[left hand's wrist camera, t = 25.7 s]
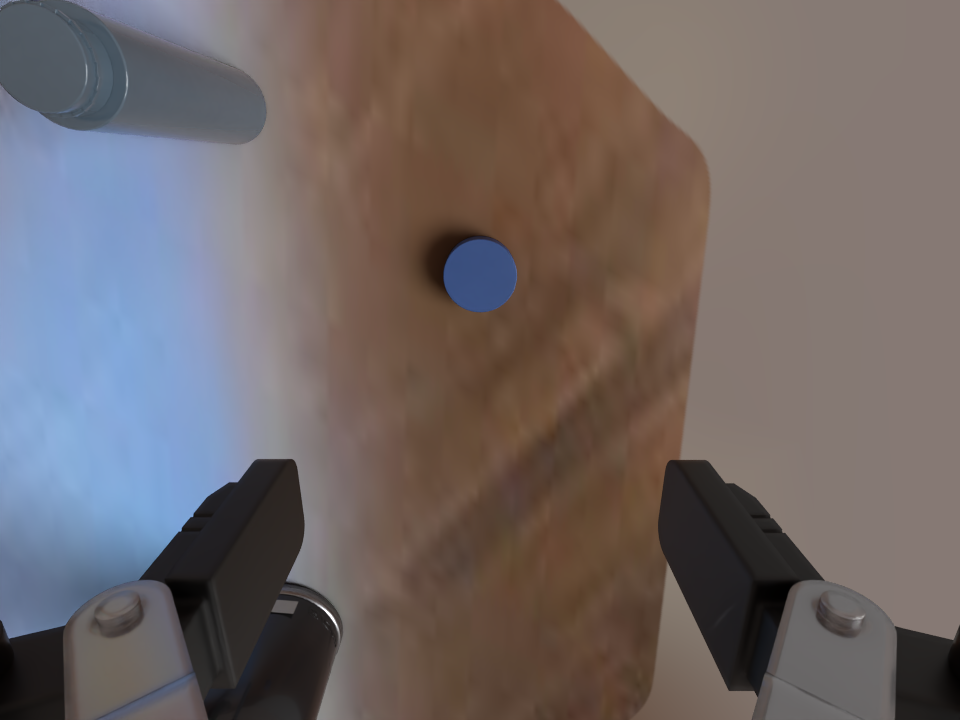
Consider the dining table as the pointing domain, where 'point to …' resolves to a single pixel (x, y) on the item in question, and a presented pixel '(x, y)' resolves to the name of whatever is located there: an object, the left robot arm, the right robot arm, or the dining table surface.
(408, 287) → the dining table surface
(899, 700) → the left robot arm
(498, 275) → the lid
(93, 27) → the jar
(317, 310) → the dining table surface
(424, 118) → the dining table surface
